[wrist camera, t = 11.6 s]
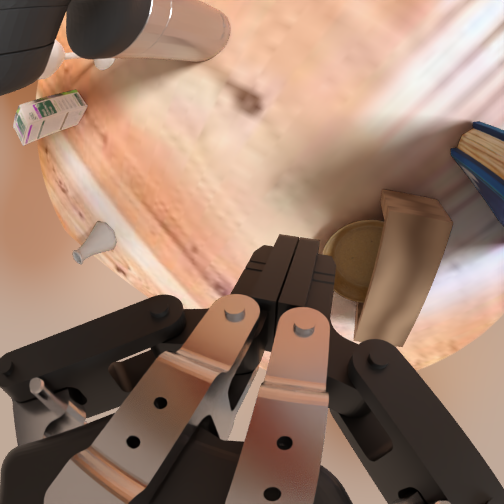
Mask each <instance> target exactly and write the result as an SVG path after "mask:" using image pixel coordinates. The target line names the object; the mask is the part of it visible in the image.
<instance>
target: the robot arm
mask: <svg viewBox="0 0 504 504" xmlns="http://www.w3.org/2000/svg"><path fill="white" fill-rule="evenodd" d="M66 12H67V19H66V34H67V40H68V43H69V46H70V48H71V49H72V51H73V52H74V53H75V54H76V55H77V56H79V57H81V58H85V59H106V58H155V59H171V60H182V61H192V62H200V61H205V60H208V59H210V58H212V57H214V56H216V55H217V54H218V53H219V52H220V51H221V50H222V49H223V48H224V47H225V45H226V43H227V41H228V39H229V35H230V24H229V21H228V19H227V17H226V16H225V15H224V14H223V13H222V12H221V11H219V10H217V9H215V8H213V7H211V6H209V5H207V4H205V3H203V2H201V1H199V0H0V96H1V95H4V94H7V93H10V92H13V91H16V90H19V89H21V88H24V87H26V86H28V85H30V84H32V83H33V82H35V81H36V80H37V79H38V78H39V77H40V76H41V75H42V74H43V72H44V71H45V68H46V66H47V63H48V61H49V58H50V55H51V52H52V49H53V46H54V43H55V39H56V36H57V34H58V31H59V28H60V25H61V23H62V20H63V18H64V15H65V13H66ZM319 242H320V240H314V239H308V238H301V237H300V240H299V237H295V236H288V235H281V234H280V235H279V236H278V239H277V241H276V243H275V245H274V247H273V246H267V245H263V246H262V247H260V248H259V249H257V250H256V251H255V252H254V253H253V255H252V257H251V258H250V261H249V262H248V264H247V266H246V268H245V269H244V271H243V273H242V275H241V276H240V278H239V280H238V282H237V283H236V285H235V287H234V289H233V291H232V292H231V294H230V295H226V296H223V297H221V298H219V299H218V300H216V301H215V302H214V303H213V304H212V306H211V307H210V308H208V309H183V305H182V303H181V301H180V300H179V299H178V298H176V297H174V296H171V295H157V296H154V297H151V298H148V299H146V300H143V301H141V302H138V303H136V304H133V305H130V306H128V307H125V308H123V309H120V310H118V311H115V312H112V313H110V314H107V315H105V316H102V317H100V318H97V319H94V320H92V321H89V322H87V323H84V324H82V325H79V326H76V327H74V328H71V329H69V330H66V331H63V332H61V333H58V334H56V335H53V336H50V337H48V338H45V339H43V340H40V341H37V342H35V343H32V344H30V345H27V346H24V347H22V348H19V349H16V350H14V351H11V352H8V353H6V354H5V355H4V356H2V357H1V358H0V387H1V388H2V389H3V390H4V391H5V392H6V393H7V394H8V395H9V396H10V397H11V398H12V401H13V412H14V422H15V429H16V436H17V443H18V446H17V447H16V448H14V449H12V450H11V451H10V452H9V453H8V455H7V456H6V457H5V459H4V461H3V464H2V468H1V482H0V483H1V484H0V504H353V503H352V502H351V500H350V498H349V496H348V494H347V492H346V491H345V489H344V487H343V486H342V484H341V483H340V482H339V480H338V479H337V478H336V477H335V476H334V475H333V474H332V473H331V472H329V471H328V470H327V469H326V468H324V467H323V466H321V465H320V464H321V458H322V452H323V445H324V438H325V430H326V422H327V413H328V408H330V412H331V414H332V416H333V418H334V419H335V421H336V423H337V424H338V426H339V427H340V429H341V430H342V432H343V434H344V435H345V437H346V439H347V440H348V442H349V443H350V445H351V447H352V448H353V450H354V451H355V453H356V454H357V456H358V458H359V459H360V461H361V462H362V464H363V466H364V467H365V469H366V470H367V472H368V473H369V475H370V476H371V478H372V480H373V481H374V482H375V484H376V485H377V487H378V489H379V490H380V492H381V493H382V495H383V496H384V498H385V500H386V501H387V503H388V504H504V489H503V487H502V485H501V484H500V482H499V481H498V479H497V478H496V477H495V475H494V473H493V472H492V470H491V469H490V467H489V466H488V465H487V463H486V462H485V460H484V459H483V457H482V456H481V455H480V453H479V452H478V451H477V449H476V448H475V446H474V445H473V444H472V442H471V441H470V439H469V438H468V437H467V436H466V434H465V433H464V431H463V430H462V429H461V427H460V426H459V425H458V423H456V421H455V419H454V418H453V417H452V416H451V414H450V413H449V412H448V410H447V409H446V408H445V407H444V405H443V404H442V403H441V401H440V400H439V399H438V398H437V396H436V395H435V394H434V393H433V391H432V390H431V389H430V388H429V387H428V385H427V384H426V383H425V382H424V380H423V379H422V378H421V377H420V376H419V374H418V373H417V372H416V371H415V369H414V368H413V367H412V366H411V365H410V363H409V362H408V361H407V360H406V359H405V358H404V356H403V355H402V354H401V353H400V352H399V350H398V349H397V348H396V347H395V346H393V345H392V344H391V343H389V342H387V341H384V340H381V339H369V340H366V341H363V342H361V343H360V344H359V345H358V344H356V343H354V342H352V341H350V340H347V339H346V338H344V337H342V336H341V335H339V334H338V333H337V332H336V330H335V329H334V328H333V326H332V324H331V320H330V313H331V306H332V299H333V291H334V282H335V273H336V264H335V262H334V260H333V258H332V256H329V255H323V254H318V250H319ZM148 348H151V350H149V351H147V352H144V353H142V354H139V355H137V356H135V357H132V358H130V359H127V360H125V361H122V362H116V361H118V360H121V359H123V358H125V357H128V356H130V355H133V354H136V353H138V352H140V351H143V350H145V349H148ZM264 350H265V351H270V352H271V356H270V360H269V364H268V368H267V372H266V376H265V379H264V382H263V383H262V384H261V386H260V389H259V392H258V396H257V399H256V403H255V406H254V410H253V414H252V417H251V421H250V424H249V428H248V431H247V435H246V438H245V441H244V442H240V441H227V440H228V438H229V435H230V433H231V431H232V428H233V424H234V420H235V417H236V414H237V412H238V410H239V408H240V406H241V404H242V402H243V400H244V398H245V396H246V394H247V392H248V390H249V388H250V386H251V384H252V382H253V380H254V378H255V376H256V374H257V372H258V369H259V363H260V361H261V359H262V356H263V353H264ZM119 406H120V407H119ZM116 407H119V409H118V410H117V411H116V413H113V414H111V415H108V416H106V417H103V418H101V419H98V420H95V421H93V422H90V423H87V422H86V421H85V419H86V418H89V417H92V416H94V415H97V414H100V413H103V412H106V411H109V410H111V409H114V408H116Z"/></svg>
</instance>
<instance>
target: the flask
mask: <svg viewBox="0 0 504 504" xmlns="http://www.w3.org/2000/svg"><path fill="white" fill-rule="evenodd" d="M116 243H117V242H116V238H115V233H114V231H113V230H112V229H111V228H110V227H109V226H108V225H107V224H106V223H103V222H99V221H98V222H97V223H96V225H95V226H94V228H93V230H92V231H91V233H90V235H89V236H88V238H87V239H86V241H85V242H84V243H83V245H82V246H81V247H80V248H79V249H78V250H74V251H73V257H74V259H75V261H77V263H79V264H82V263H83V261H84V260H85V259H86V258H88V257H90V256H92V255H95V254H98V253H101V252H105V251H110V250H113V249H114V247H115V245H116Z"/></svg>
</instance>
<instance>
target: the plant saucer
mask: <svg viewBox="0 0 504 504" xmlns="http://www.w3.org/2000/svg"><path fill="white" fill-rule="evenodd" d="M383 227H384V221H379V220H362V221H357V222H353V223H351V224H348V225H346V226H344V227H342V228H341V229H339V230H338V231H337V232H336V233H334V234H333V235H332V236H331V238H330V239H329V240H328V242H327V243H326V245H325V247H324V249H323V252H322V254H323V255H329V256H332V258H333V260H334V262H335V264H336V273H335V282H334V291H335V292H337V293H338V294H339V295H341V296H342V297H345V298H347V299H349V300H352V301H355V302H360V303H364V302H365V298H366V295H367V291H368V288H369V284H370V281H371V277H372V273H373V270H374V266H375V262H376V258H377V253H378V249H379V245H380V241H381V236H382V231H383Z"/></svg>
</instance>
